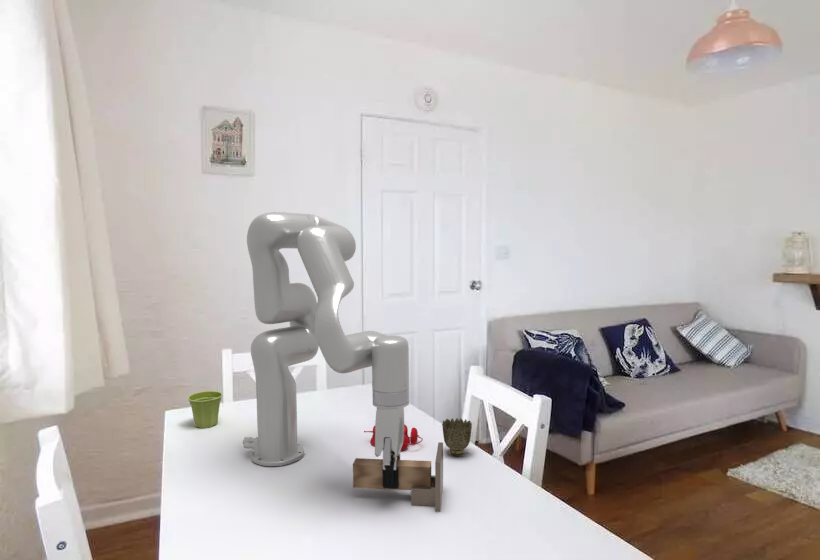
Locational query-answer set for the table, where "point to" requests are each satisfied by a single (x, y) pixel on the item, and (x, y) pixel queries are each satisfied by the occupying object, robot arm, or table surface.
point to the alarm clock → (407, 439)
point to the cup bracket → (433, 493)
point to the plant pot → (205, 408)
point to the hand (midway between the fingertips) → (392, 482)
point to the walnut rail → (410, 471)
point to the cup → (457, 435)
